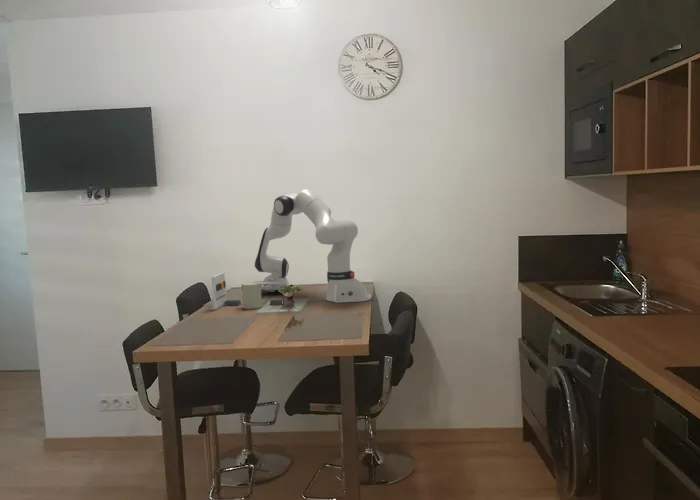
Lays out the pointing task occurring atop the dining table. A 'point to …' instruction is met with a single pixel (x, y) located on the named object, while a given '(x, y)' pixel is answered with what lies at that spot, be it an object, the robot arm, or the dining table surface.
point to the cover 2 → (276, 301)
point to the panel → (218, 291)
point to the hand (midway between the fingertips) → (264, 288)
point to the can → (251, 295)
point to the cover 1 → (232, 302)
